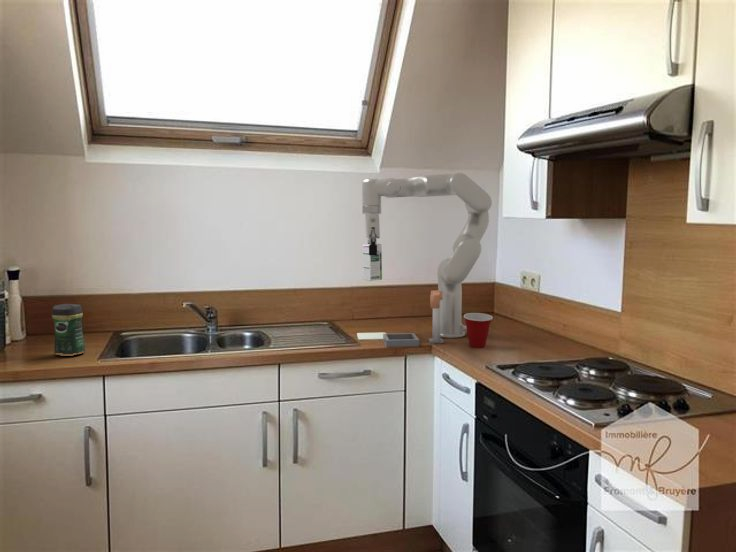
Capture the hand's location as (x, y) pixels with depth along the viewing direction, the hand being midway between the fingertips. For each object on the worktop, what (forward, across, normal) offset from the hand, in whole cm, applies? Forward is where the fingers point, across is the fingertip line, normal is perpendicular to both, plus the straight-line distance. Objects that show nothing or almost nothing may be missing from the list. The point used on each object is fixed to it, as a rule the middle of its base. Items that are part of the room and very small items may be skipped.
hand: (372, 254), depth 235 cm
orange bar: (+17, -23, -22) cm, 36 cm away
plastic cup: (+34, -22, -38) cm, 55 cm away
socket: (+34, -13, -15) cm, 39 cm away
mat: (+34, 0, 0) cm, 34 cm away
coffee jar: (+34, -19, +111) cm, 118 cm away
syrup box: (+11, 0, 0) cm, 11 cm away
